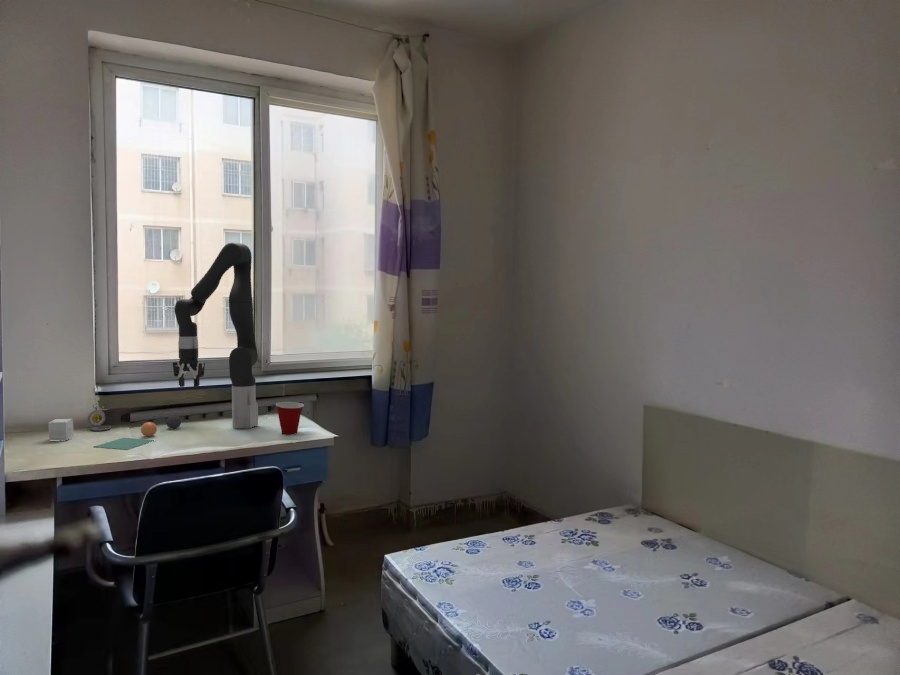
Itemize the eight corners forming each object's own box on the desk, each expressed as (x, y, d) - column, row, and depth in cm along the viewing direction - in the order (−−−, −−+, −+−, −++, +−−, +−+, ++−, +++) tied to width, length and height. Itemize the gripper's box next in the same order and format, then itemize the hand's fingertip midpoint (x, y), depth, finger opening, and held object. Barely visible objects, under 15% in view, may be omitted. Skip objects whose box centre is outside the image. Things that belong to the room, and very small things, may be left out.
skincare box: (74, 437, 226) (73, 418, 226) (66, 441, 220) (65, 421, 220) (56, 438, 225) (55, 418, 225) (48, 442, 219) (47, 422, 219)
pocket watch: (104, 431, 236) (103, 406, 236) (83, 431, 236) (82, 406, 236) (116, 427, 244) (115, 403, 244) (96, 427, 245) (95, 402, 244)
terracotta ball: (160, 435, 231) (159, 421, 231) (150, 438, 226) (149, 424, 226) (147, 434, 233) (147, 420, 232) (137, 437, 227) (137, 423, 227)
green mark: (155, 440, 223) (155, 440, 223) (127, 449, 209) (127, 449, 209) (123, 438, 226) (123, 437, 226) (93, 447, 213) (93, 446, 213)
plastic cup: (299, 437, 231) (299, 406, 230) (271, 436, 231) (271, 405, 231) (307, 430, 242) (307, 401, 241) (281, 430, 242) (281, 400, 241)
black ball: (184, 427, 245) (183, 414, 245) (175, 430, 240) (174, 416, 239) (172, 426, 246) (172, 413, 246) (163, 429, 241) (162, 416, 241)
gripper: (209, 346, 252) (209, 386, 254) (179, 345, 256) (180, 384, 257) (197, 348, 245) (198, 389, 246) (167, 347, 248) (168, 387, 250)
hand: (189, 386), depth 252 cm, fingers open, 6 cm apart
